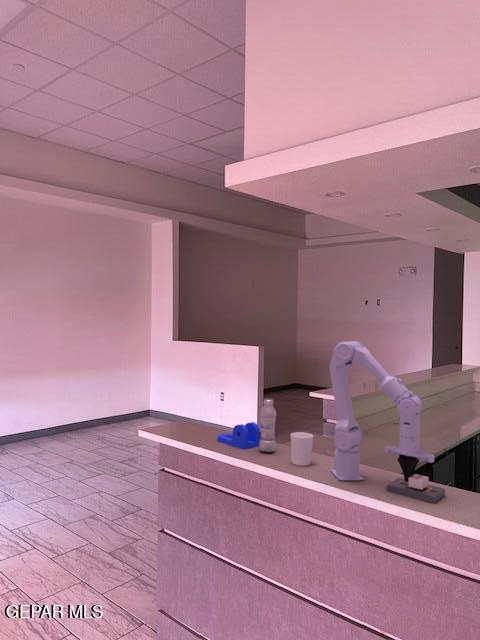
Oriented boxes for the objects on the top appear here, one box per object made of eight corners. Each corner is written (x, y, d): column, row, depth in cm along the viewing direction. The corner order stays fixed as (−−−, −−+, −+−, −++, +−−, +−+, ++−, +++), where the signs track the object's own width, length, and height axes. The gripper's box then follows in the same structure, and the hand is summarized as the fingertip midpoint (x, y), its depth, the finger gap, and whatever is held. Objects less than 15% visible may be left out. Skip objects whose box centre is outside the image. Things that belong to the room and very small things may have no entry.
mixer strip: (386, 490, 148) (386, 484, 148) (399, 483, 154) (399, 477, 154) (433, 503, 138) (434, 496, 138) (444, 495, 145) (445, 488, 145)
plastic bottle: (275, 449, 189) (277, 398, 189) (275, 454, 183) (276, 401, 182) (259, 448, 190) (260, 397, 190) (257, 453, 183) (259, 400, 183)
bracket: (259, 446, 194) (259, 423, 194) (244, 450, 189) (245, 426, 188) (228, 437, 207) (228, 416, 207) (213, 440, 201) (213, 418, 201)
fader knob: (408, 486, 145) (408, 477, 145) (415, 482, 149) (415, 473, 149) (421, 489, 143) (422, 480, 143) (428, 485, 146) (428, 476, 146)
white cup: (285, 461, 175) (286, 433, 175) (303, 458, 179) (304, 431, 179) (298, 467, 168) (298, 438, 168) (316, 464, 172) (317, 436, 172)
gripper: (438, 438, 146) (437, 483, 146) (392, 429, 156) (390, 472, 156) (429, 442, 141) (428, 489, 141) (382, 433, 150) (380, 477, 150)
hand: (408, 481), depth 148 cm, fingers closed
